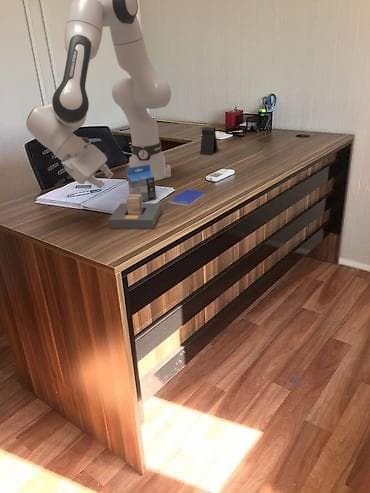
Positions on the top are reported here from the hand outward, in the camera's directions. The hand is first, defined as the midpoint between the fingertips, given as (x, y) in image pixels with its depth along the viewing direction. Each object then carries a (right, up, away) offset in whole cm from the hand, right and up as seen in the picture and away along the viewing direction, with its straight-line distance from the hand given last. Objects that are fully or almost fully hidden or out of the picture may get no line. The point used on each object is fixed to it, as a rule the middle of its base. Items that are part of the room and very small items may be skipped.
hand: (107, 181), depth 136 cm
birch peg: (+9, -12, +5) cm, 15 cm away
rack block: (+9, -12, +5) cm, 15 cm away
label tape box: (+9, -4, +21) cm, 23 cm away
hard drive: (+25, -4, +20) cm, 32 cm away
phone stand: (+37, +25, +75) cm, 88 cm away
